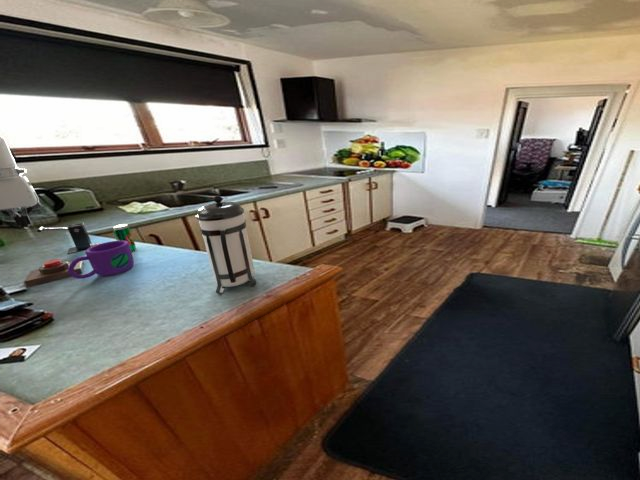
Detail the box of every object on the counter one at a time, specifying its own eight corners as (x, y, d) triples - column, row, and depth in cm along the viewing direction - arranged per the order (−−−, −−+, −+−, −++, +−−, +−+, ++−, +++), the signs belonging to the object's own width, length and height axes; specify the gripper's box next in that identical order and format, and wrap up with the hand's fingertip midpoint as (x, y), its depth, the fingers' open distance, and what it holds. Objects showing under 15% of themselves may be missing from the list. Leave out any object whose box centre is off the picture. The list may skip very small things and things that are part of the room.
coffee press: (197, 291, 86) (171, 200, 77) (239, 268, 100) (221, 189, 91) (236, 302, 80) (214, 205, 71) (275, 276, 94) (261, 192, 85)
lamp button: (44, 269, 96) (42, 265, 95) (46, 266, 98) (44, 261, 98) (61, 265, 98) (59, 261, 98) (62, 262, 101) (60, 258, 100)
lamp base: (27, 287, 91) (21, 276, 90) (33, 275, 99) (28, 266, 98) (82, 273, 100) (78, 263, 99) (84, 264, 107) (80, 254, 106)
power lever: (37, 233, 109) (36, 227, 109) (39, 230, 112) (39, 225, 112) (81, 232, 117) (81, 227, 117) (82, 230, 121) (82, 224, 120)
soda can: (120, 252, 117) (110, 226, 114) (135, 248, 121) (126, 223, 117) (123, 255, 115) (113, 228, 111) (138, 250, 119) (129, 225, 115)
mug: (125, 261, 109) (116, 238, 105) (143, 265, 105) (135, 241, 102) (65, 283, 93) (53, 257, 90) (84, 289, 89) (72, 262, 86)
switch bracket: (68, 255, 115) (57, 230, 111) (70, 250, 121) (59, 225, 117) (101, 248, 122) (91, 224, 118) (101, 244, 127) (92, 220, 123)
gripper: (38, 170, 96) (59, 219, 102) (-34, 175, 87) (-7, 229, 92) (34, 172, 91) (56, 224, 97) (-43, 178, 81) (-14, 234, 87)
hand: (25, 226), depth 95 cm, fingers closed
